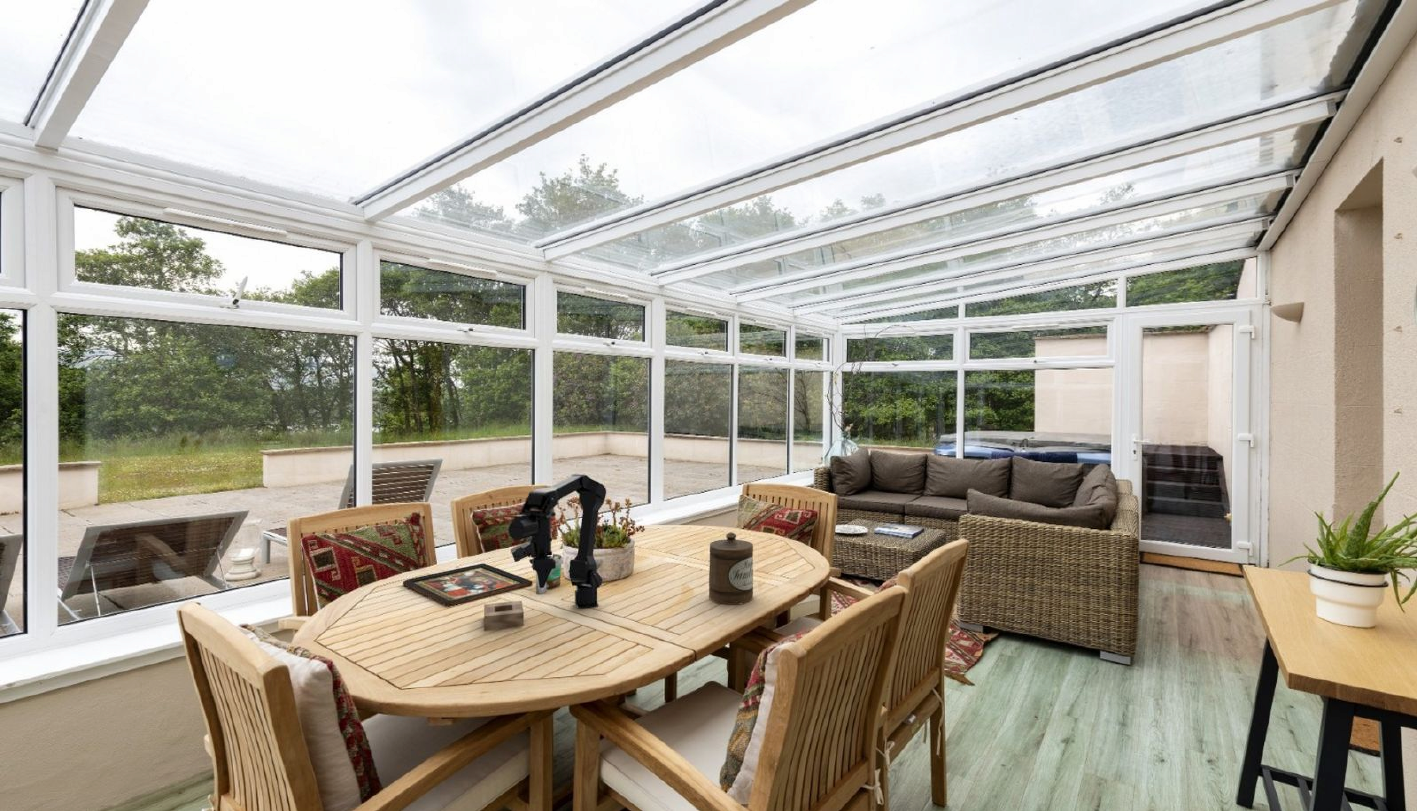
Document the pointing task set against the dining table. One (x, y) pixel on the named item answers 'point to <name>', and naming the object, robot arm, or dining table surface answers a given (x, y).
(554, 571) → the food container
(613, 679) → the dining table surface
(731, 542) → the wooden container
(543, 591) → the cylinder
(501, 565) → the dining table surface
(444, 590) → the framed icon painting
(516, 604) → the square hollow frame
